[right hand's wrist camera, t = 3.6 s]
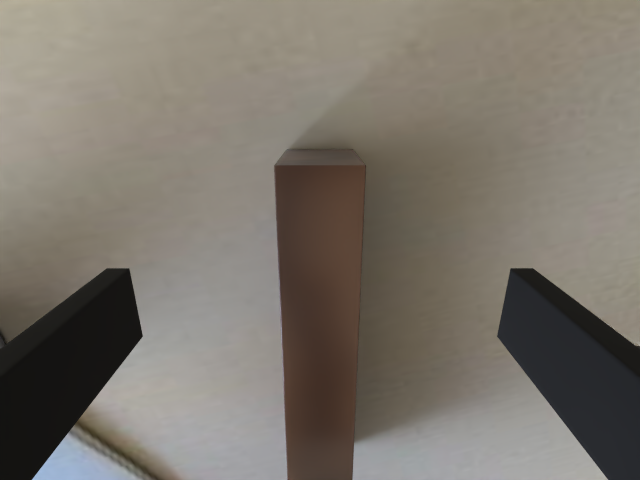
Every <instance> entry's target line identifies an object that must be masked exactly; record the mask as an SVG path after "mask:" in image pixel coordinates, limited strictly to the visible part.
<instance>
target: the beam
mask: <svg viewBox="0 0 640 480" xmlns="http://www.w3.org/2000/svg"><path fill="white" fill-rule="evenodd" d="M274 173H275V197H276V220H277V243H278V266H279V290H280V313H281V336H282V359H283V382H284V406H285V429H286V452H287V475H288V480H352V475H353V452H354V429H355V406H356V383H357V359H358V336H359V313H360V290H361V266H362V243H363V220H364V197H365V174H366V165H365V164H364V163H363V161H362V160H361V159H360V158H359V156H358V155H357V154H356V153H355V151H354V150H353V149H287V150H286V151H285V153H284V154H283V155H282V156H281V158H280V159H279V160H278V161H277V163H276V164H275V165H274Z"/></svg>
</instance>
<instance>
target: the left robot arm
mask: <svg viewBox="0 0 640 480" xmlns="http://www.w3.org/2000/svg"><path fill="white" fill-rule="evenodd" d="M4 346H5V343H4V341H3V339H2V337H1V336H0V348H2V347H4Z"/></svg>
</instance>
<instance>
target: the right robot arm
mask: <svg viewBox="0 0 640 480" xmlns="http://www.w3.org/2000/svg"><path fill="white" fill-rule="evenodd" d="M142 337H143V335H142V330H141V325H140V320H139V315H138V310H137V305H136V300H135V295H134V290H133V285H132V280H131V275H130V270H129V268H107V269H106V270H104V271H103V272H102V273H100V274H99V275H98V276H96V277H95V278H94V279H92V280H91V281H90V282H88V283H87V284H86V285H84V286H83V287H82V288H80V289H79V290H78V291H76V292H75V293H74V294H73V295H71V296H70V297H69V298H67V299H66V300H65V301H63V302H62V303H61V304H59V305H58V306H57V307H55V308H54V309H53V310H51V311H50V312H49V313H47V314H46V315H45V316H43V317H42V318H41V319H39V320H38V321H37V322H35V323H34V324H33V325H31V326H30V327H29V328H28V329H26V330H25V331H24V332H22V333H21V334H20V335H18V336H17V337H16V338H14V339H13V340H12V341H10V342H9V343H8V344H6V345H5V346H4V347H2V348H0V480H32V479H33V477H34V476H35V475H36V474H37V472H38V471H39V470H40V468H41V467H42V466H43V464H44V463H45V462H46V461H47V459H48V458H49V457H50V455H51V454H52V453H53V452H54V450H55V449H56V448H57V446H58V445H59V444H60V443H61V441H62V440H63V439H64V437H65V436H66V435H67V433H68V432H69V431H70V430H71V428H72V427H73V426H74V424H75V423H76V422H77V421H78V419H79V418H80V417H81V415H82V414H83V413H84V412H85V410H86V409H87V408H88V406H89V405H90V404H91V403H92V401H93V400H94V399H95V397H96V396H97V395H98V393H99V392H100V391H101V390H102V388H103V387H104V386H105V384H106V383H107V382H108V381H109V379H110V378H111V377H112V375H113V374H114V373H115V372H116V370H117V369H118V368H119V366H120V365H121V364H122V363H123V361H124V360H125V359H126V357H127V356H128V355H129V353H130V352H131V351H132V350H133V348H134V347H135V346H136V344H137V343H138V342H139V341H140V339H141V338H142ZM497 337H498V338H499V339H500V341H501V342H502V343H503V344H504V346H505V347H506V348H507V350H508V351H509V352H510V353H511V355H512V356H513V357H514V359H515V360H516V361H517V363H518V364H519V365H520V366H521V368H522V369H523V370H524V372H525V373H526V374H527V375H528V377H529V378H530V379H531V381H532V382H533V383H534V384H535V386H536V387H537V388H538V390H539V391H540V392H541V393H542V395H543V396H544V397H545V399H546V400H547V401H548V403H549V404H550V405H551V406H552V408H553V409H554V410H555V412H556V413H557V414H558V415H559V417H560V418H561V419H562V421H563V422H564V423H565V424H566V426H567V427H568V428H569V430H570V431H571V432H572V433H573V435H574V436H575V437H576V439H577V440H578V441H579V443H580V444H581V445H582V446H583V448H584V449H585V450H586V452H587V453H588V454H589V455H590V457H591V458H592V459H593V461H594V462H595V463H596V464H597V466H598V467H599V468H600V470H601V471H602V472H603V474H604V475H605V476H606V477H607V479H608V480H640V347H639V346H635V345H634V344H632V343H631V342H630V341H628V340H627V339H626V338H624V337H623V336H622V335H620V334H619V333H618V332H616V331H615V330H614V329H612V328H611V327H610V326H609V325H607V324H606V323H605V322H603V321H602V320H601V319H599V318H598V317H597V316H595V315H594V314H593V313H591V312H590V311H589V310H587V309H586V308H585V307H583V306H582V305H581V304H579V303H578V302H577V301H575V300H574V299H573V298H571V297H570V296H569V295H567V294H566V293H565V292H564V291H562V290H561V289H560V288H558V287H557V286H556V285H554V284H553V283H552V282H550V281H549V280H548V279H546V278H545V277H544V276H542V275H541V274H540V273H538V272H537V271H536V270H534V269H533V268H511V270H510V275H509V280H508V285H507V290H506V295H505V300H504V305H503V310H502V315H501V320H500V325H499V330H498V335H497Z"/></svg>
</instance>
